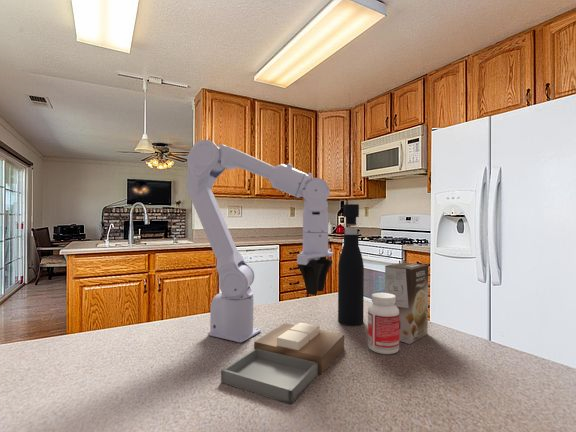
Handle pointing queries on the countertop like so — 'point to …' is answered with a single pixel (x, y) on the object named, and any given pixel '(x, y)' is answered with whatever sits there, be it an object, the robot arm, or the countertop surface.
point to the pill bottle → (383, 324)
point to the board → (306, 346)
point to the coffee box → (409, 298)
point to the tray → (271, 374)
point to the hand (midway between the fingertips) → (315, 292)
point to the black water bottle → (351, 273)
